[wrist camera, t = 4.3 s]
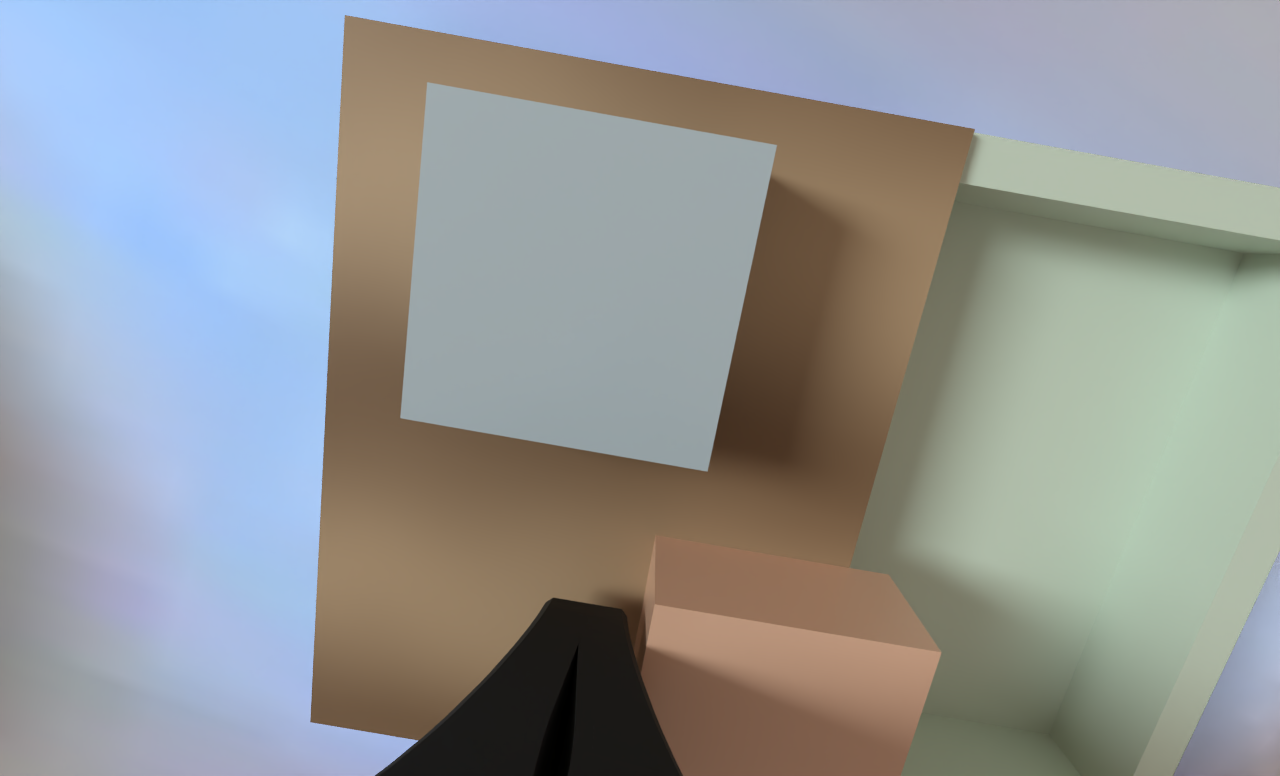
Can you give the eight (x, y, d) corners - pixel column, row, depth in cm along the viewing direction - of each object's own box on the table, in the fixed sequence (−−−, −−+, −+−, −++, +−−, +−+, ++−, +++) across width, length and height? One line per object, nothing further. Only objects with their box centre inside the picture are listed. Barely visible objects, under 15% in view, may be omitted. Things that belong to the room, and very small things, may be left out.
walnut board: (760, 700, 14) (782, 801, 12) (373, 634, 14) (311, 721, 11) (903, 153, 11) (974, 129, 9) (416, 66, 11) (344, 15, 9)
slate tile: (697, 425, 10) (707, 471, 8) (452, 382, 10) (400, 418, 8) (751, 164, 9) (777, 145, 7) (478, 116, 9) (427, 81, 7)
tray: (1057, 750, 14) (1136, 852, 12) (760, 700, 14) (781, 792, 12) (1275, 220, 11) (1436, 216, 9) (903, 153, 11) (967, 131, 9)
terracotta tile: (831, 765, 11) (867, 875, 9) (618, 729, 11) (609, 833, 9) (888, 574, 10) (941, 652, 8) (656, 534, 10) (653, 604, 8)
